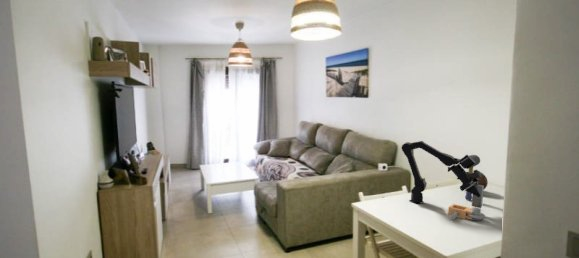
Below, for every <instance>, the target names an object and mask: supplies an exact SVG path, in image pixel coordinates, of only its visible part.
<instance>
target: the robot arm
mask: <svg viewBox="0 0 579 258" xmlns="http://www.w3.org/2000/svg"><path fill="white" fill-rule="evenodd" d="M416 149H421V150H423V151H425V152H427V153H428V154H430V155H431V156H433V157H434V158H437V159H438V160H439V161H440V162H441V163H442V165H445V166H446V167H447V172H448V173H449V172H450V171H451V172H452V173H453V174H454V175H455V177H456V179H457V180H459V181H460V182H461V185H460V186H459V189H460V191H461V192H464V191H465V192H466V191H468V192H470V193H472V195H473V194H474V195H476V196H477V197H480V195H479V193H478V192H477V190H476V189H475V184H478V182H476V181H478V180H479V178H480V177H481V173H482V171H480V170H478V169H475V170H474V169H473V173H469V172H468V171H466V170H465V169H467V170H469V168H470V167H471V166H473V165H474V164H476V162H475V161H474V160H473V159H472V158H471V157H470V155H468V154H466V155H464V156H463V157H462V158H456V157H454V156H453V155H450V154H448V153H446V152H441V151H440V150H438V149H436V148H435V147H433V146H432V145H430V144H427V143H426V142H424V140H418V141H415V142H405V143H403V144H402V145H401V151H402V152H403V154H404V156H405V157H406V158H407V162H408V164H409V167H410V169H411V174H412V176H413V179H414V180H413V182H414V183H413V185H414V186H413V188H411V190H410V192H411V193H410V194H411V195H410V199H409V200H408V201H409V202H411V203H414V204H416V205H419V204H423V203H424V199H423V198H424V196H423V195H424V194H423V192H425V190H426V188H427V185H428V183H427V181H426V178H425V177H424V178H423V177H422V176H421V173H420V170H419V166H418V165H417V161H416V158H415V155H414V151H415V150H416Z"/></svg>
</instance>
